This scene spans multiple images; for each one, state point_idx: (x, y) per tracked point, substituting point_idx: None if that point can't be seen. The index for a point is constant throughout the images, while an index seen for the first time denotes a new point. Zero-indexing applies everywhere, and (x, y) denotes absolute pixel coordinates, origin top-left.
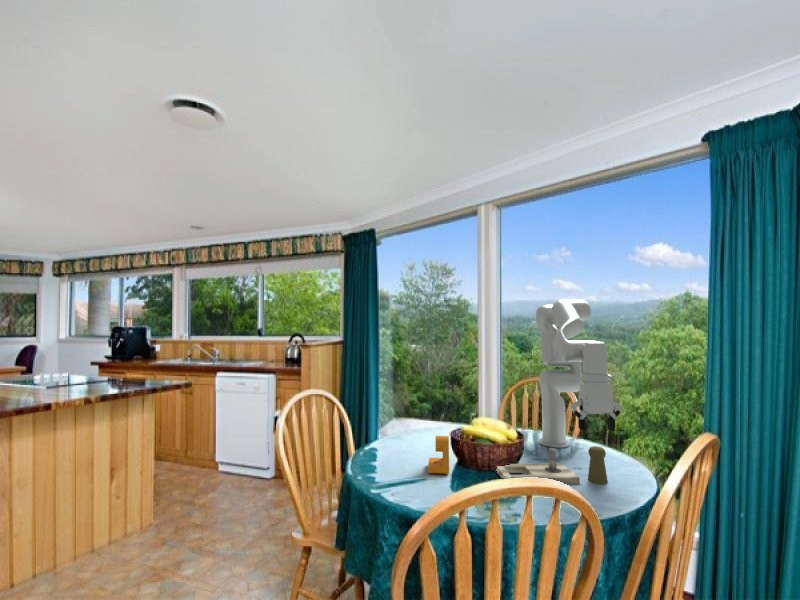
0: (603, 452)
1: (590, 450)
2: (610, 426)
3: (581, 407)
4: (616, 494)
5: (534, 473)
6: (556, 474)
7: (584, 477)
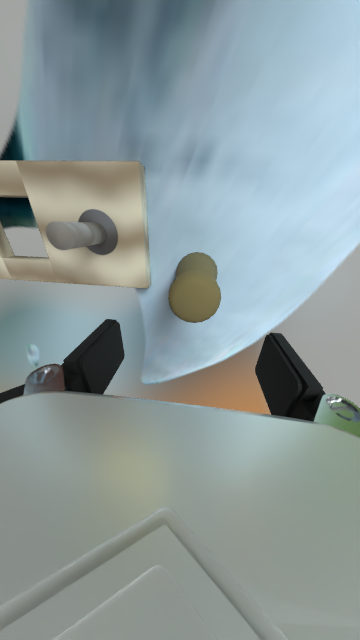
0: (202, 321)
1: (169, 303)
2: (265, 373)
3: (3, 428)
4: (192, 335)
5: (52, 253)
6: (101, 265)
7: (178, 247)
